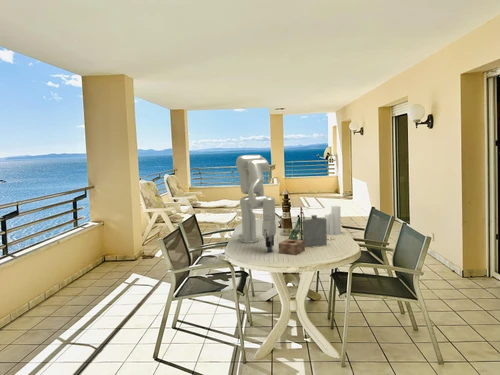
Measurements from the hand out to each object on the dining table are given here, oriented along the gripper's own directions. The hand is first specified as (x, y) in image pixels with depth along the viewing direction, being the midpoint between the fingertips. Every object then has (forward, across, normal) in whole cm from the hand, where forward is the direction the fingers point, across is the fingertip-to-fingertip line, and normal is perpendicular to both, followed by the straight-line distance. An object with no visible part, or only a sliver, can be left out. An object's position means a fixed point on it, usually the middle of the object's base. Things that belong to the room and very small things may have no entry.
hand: (269, 246), depth 246 cm
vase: (+4, -63, +18) cm, 66 cm away
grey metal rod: (+3, 0, 0) cm, 3 cm away
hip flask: (+4, -26, +19) cm, 32 cm away
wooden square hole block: (+3, -6, +12) cm, 14 cm away
